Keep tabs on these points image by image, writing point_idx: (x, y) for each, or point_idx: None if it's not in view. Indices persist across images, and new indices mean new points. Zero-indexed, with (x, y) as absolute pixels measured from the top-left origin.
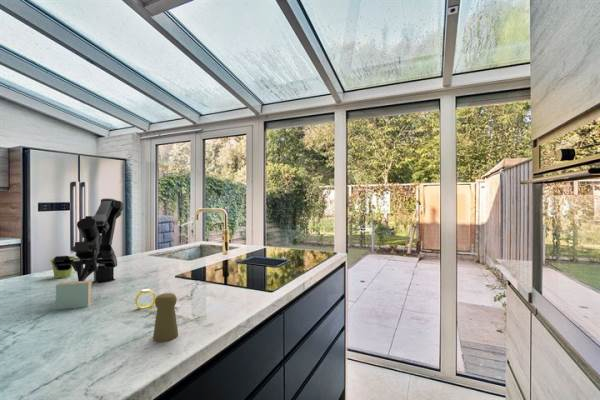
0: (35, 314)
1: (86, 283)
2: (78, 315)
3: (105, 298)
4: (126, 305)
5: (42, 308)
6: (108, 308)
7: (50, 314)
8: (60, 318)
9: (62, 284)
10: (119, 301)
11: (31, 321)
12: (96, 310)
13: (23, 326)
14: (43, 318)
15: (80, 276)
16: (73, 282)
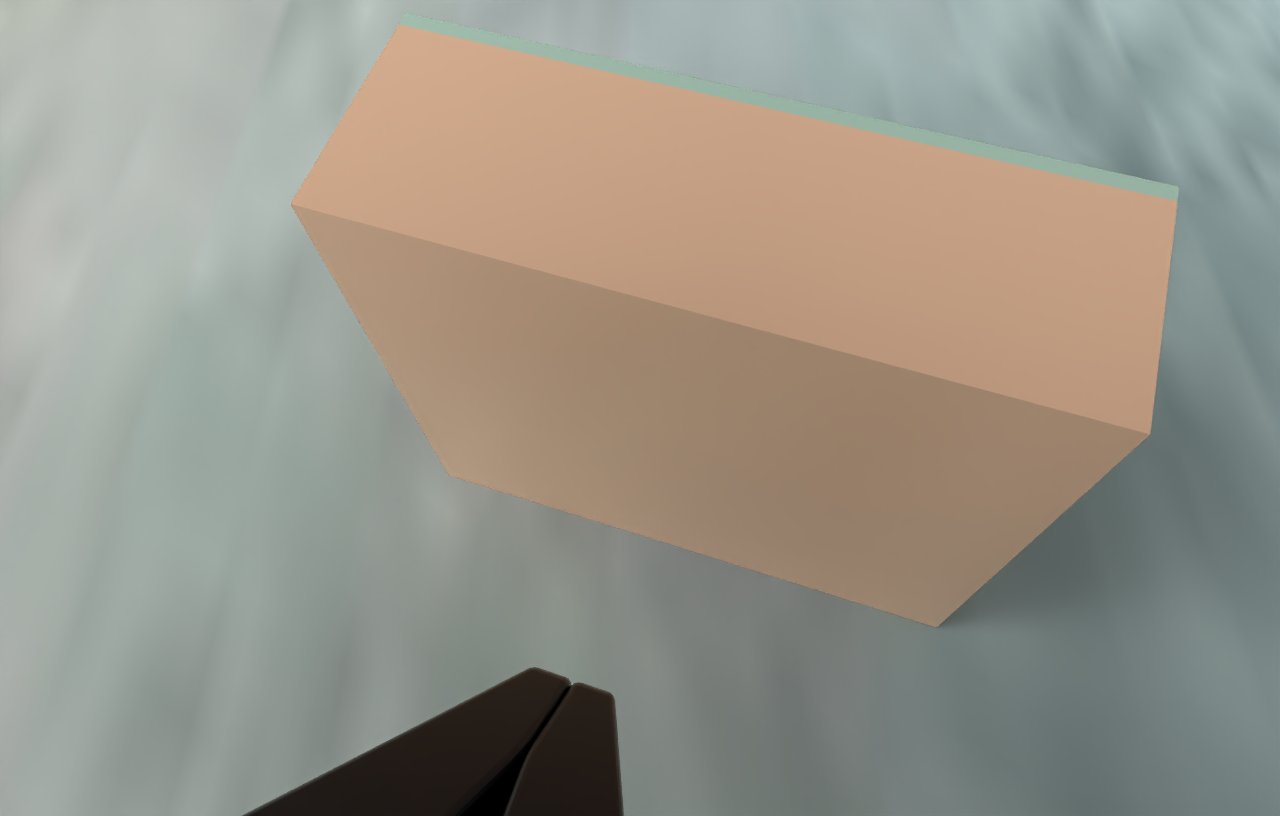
0: (1218, 384)
1: (449, 32)
2: (647, 50)
3: (171, 683)
4: (73, 111)
5: (1225, 688)
6: (294, 114)
7: None
8: (838, 53)
9: (1009, 152)
10: (63, 341)
11: (1159, 118)
12: None
13: (1187, 6)
14: (1043, 152)
15: (520, 774)
16: (746, 220)
